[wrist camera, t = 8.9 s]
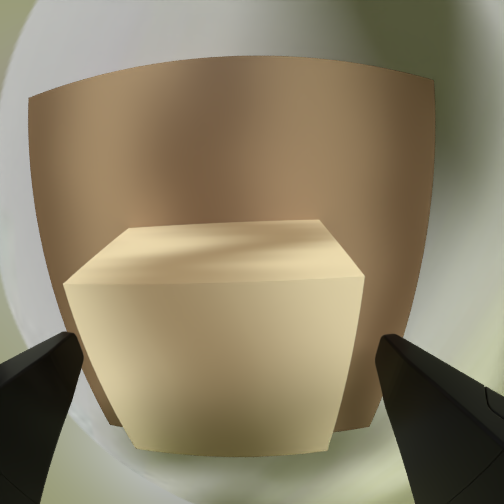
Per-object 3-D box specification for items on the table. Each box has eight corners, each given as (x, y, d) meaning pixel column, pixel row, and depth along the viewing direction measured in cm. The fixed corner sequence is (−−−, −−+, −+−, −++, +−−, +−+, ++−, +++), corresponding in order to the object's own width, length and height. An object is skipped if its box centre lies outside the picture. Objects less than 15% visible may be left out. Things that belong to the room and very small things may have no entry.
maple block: (319, 219, 9) (364, 275, 5) (309, 368, 11) (327, 450, 7) (128, 228, 9) (62, 283, 5) (160, 370, 11) (136, 448, 7)
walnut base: (395, 90, 10) (433, 80, 7) (355, 389, 16) (369, 426, 13) (69, 102, 10) (28, 97, 7) (124, 388, 16) (109, 424, 13)
